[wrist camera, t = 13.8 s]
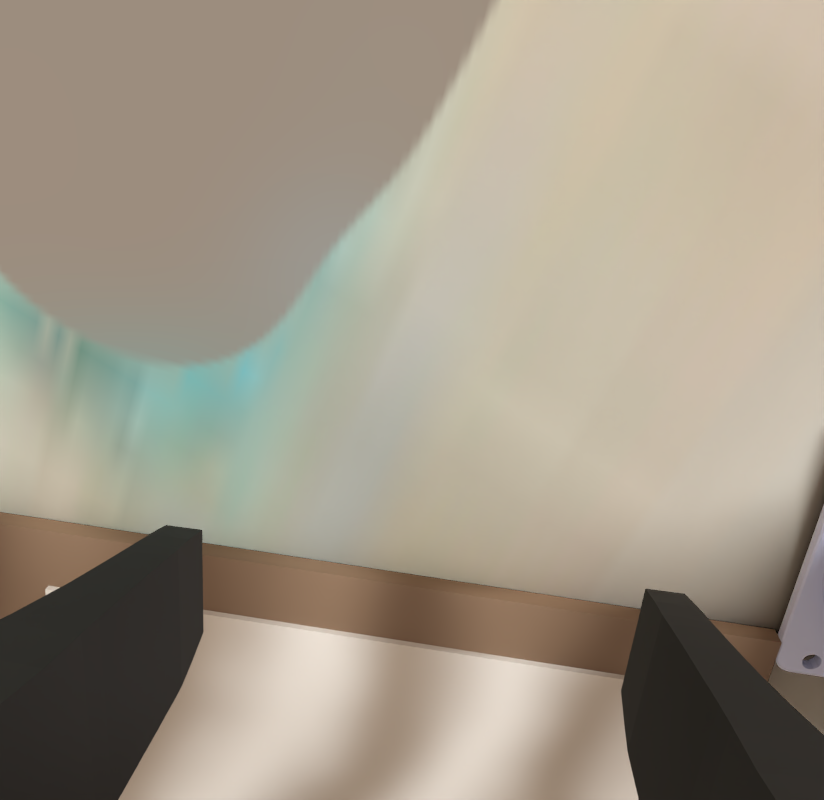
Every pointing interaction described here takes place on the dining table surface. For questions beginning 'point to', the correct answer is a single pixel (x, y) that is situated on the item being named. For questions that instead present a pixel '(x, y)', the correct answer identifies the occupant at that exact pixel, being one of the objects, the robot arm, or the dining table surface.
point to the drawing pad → (372, 680)
